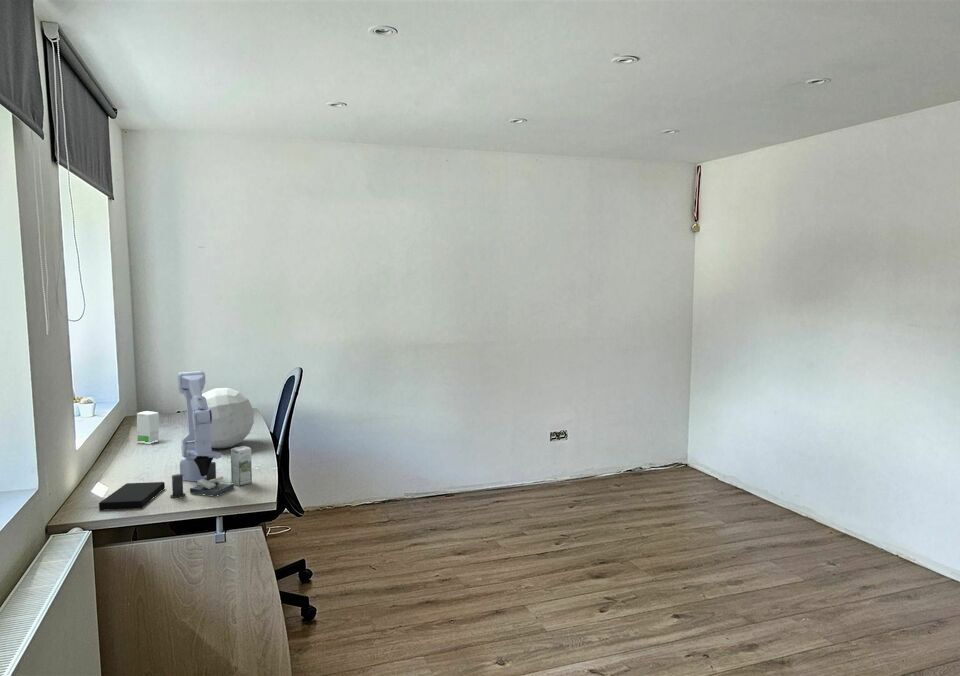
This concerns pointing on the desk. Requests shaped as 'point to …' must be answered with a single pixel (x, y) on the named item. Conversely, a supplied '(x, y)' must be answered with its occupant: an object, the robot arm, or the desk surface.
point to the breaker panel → (212, 489)
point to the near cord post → (177, 486)
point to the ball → (229, 416)
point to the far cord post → (211, 472)
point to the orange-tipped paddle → (216, 479)
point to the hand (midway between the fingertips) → (204, 475)
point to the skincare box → (147, 426)
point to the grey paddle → (206, 483)
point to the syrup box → (241, 465)
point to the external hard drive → (132, 496)
